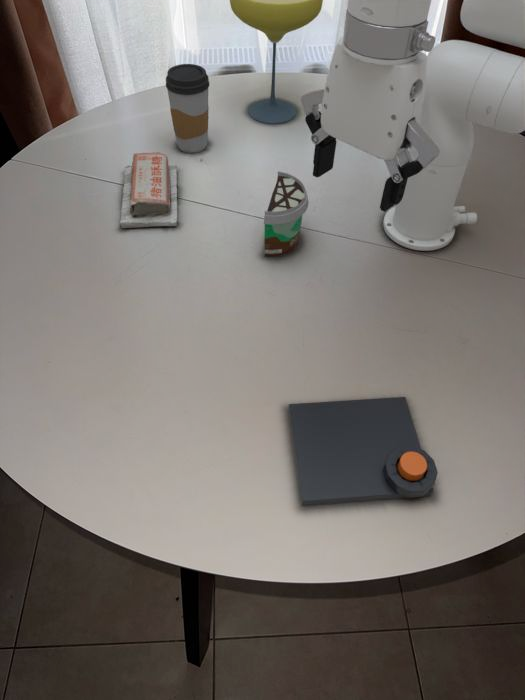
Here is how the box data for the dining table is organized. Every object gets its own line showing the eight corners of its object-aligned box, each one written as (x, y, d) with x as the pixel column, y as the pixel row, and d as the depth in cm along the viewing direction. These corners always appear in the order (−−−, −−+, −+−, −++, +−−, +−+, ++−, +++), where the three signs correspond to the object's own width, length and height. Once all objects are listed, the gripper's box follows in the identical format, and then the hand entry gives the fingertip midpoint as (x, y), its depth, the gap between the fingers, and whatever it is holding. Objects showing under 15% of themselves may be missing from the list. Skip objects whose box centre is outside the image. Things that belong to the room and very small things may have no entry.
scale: (407, 402, 80) (411, 389, 78) (436, 500, 71) (443, 489, 68) (287, 409, 79) (289, 396, 76) (302, 510, 69) (304, 499, 67)
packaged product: (122, 149, 110) (174, 148, 111) (126, 172, 114) (177, 170, 114) (116, 207, 98) (175, 205, 99) (121, 230, 102) (178, 227, 103)
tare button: (420, 456, 71) (423, 450, 70) (427, 480, 69) (430, 474, 68) (394, 458, 71) (397, 452, 70) (401, 482, 69) (403, 476, 68)
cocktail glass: (315, 133, 124) (327, 5, 105) (231, 132, 124) (228, 4, 105) (309, 92, 136) (319, -29, 117) (232, 91, 136) (230, -31, 116)
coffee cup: (220, 142, 121) (217, 70, 110) (196, 160, 117) (191, 87, 105) (188, 130, 124) (182, 58, 113) (163, 148, 119) (155, 74, 108)
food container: (298, 267, 97) (303, 219, 89) (262, 262, 98) (264, 213, 90) (309, 222, 105) (314, 174, 97) (276, 217, 105) (278, 169, 98)
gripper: (483, 50, 54) (435, 206, 67) (334, 0, 61) (317, 149, 74) (442, 74, 50) (399, 235, 63) (288, 18, 57) (278, 172, 70)
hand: (354, 188), depth 68 cm, fingers open, 9 cm apart
